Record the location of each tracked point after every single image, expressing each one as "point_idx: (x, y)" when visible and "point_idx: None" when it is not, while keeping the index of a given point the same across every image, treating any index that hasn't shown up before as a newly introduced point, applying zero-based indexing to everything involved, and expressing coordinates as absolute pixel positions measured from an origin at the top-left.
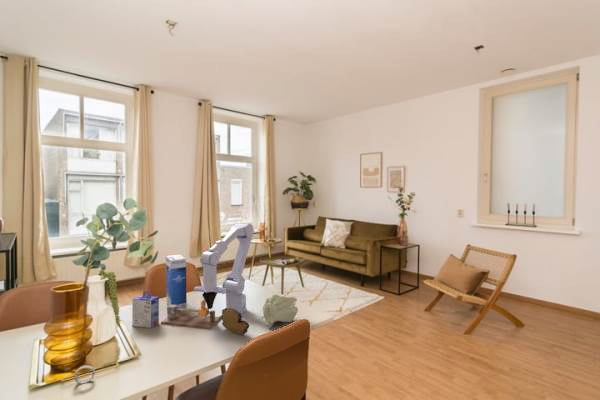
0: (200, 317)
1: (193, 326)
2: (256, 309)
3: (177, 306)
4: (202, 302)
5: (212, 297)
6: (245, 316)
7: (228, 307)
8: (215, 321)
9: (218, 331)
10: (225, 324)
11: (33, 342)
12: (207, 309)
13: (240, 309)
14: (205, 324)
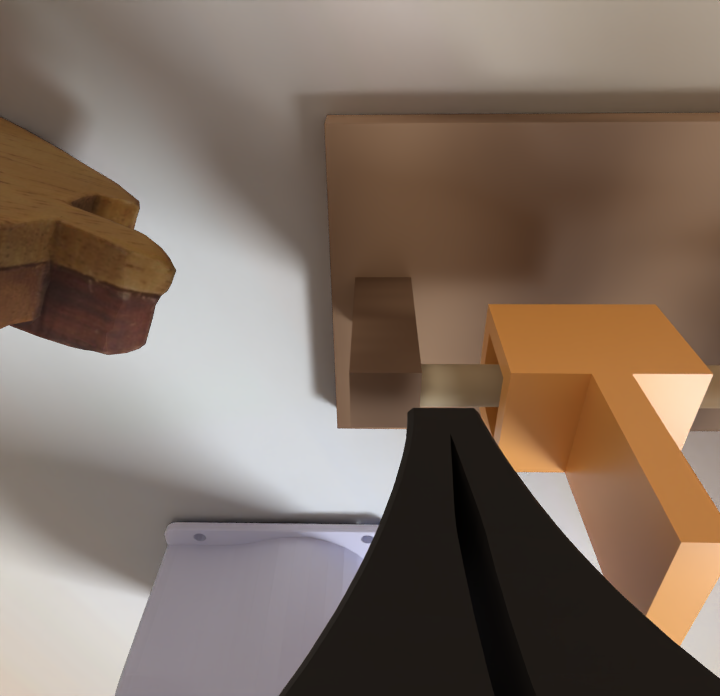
0: None
1: (641, 117)
2: (102, 624)
3: None
4: (664, 513)
5: (292, 691)
6: (100, 505)
7: (316, 594)
8: (338, 309)
9: (145, 61)
10: (22, 159)
11: None
12: (499, 424)
13: (167, 583)
14: (444, 185)
